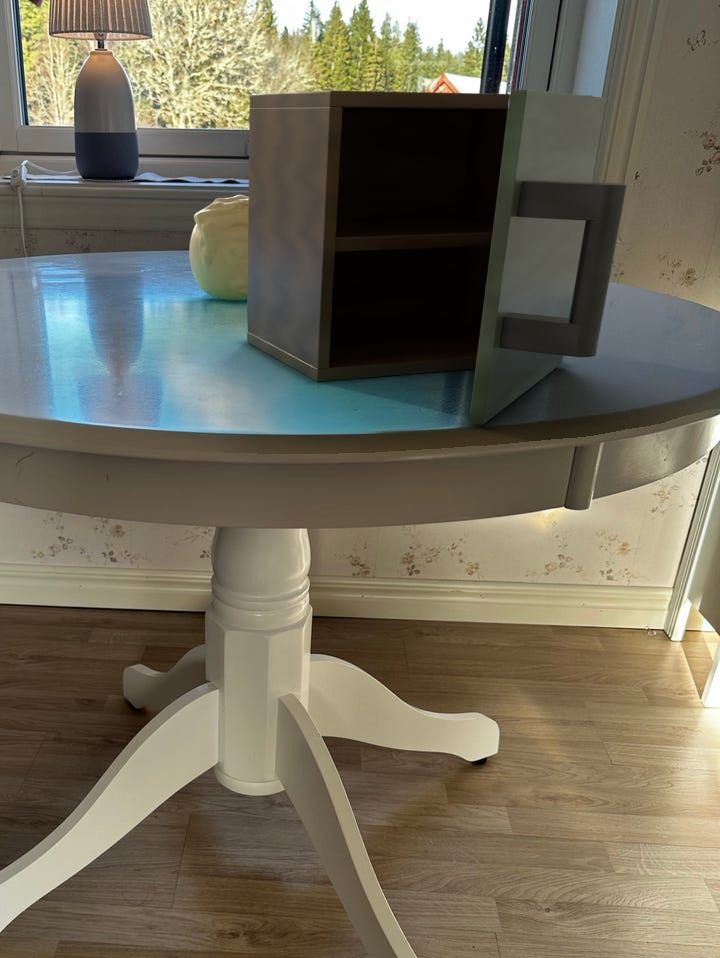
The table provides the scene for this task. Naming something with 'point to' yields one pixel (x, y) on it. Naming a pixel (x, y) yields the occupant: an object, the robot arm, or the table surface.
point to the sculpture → (221, 248)
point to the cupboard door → (545, 247)
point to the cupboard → (371, 228)
